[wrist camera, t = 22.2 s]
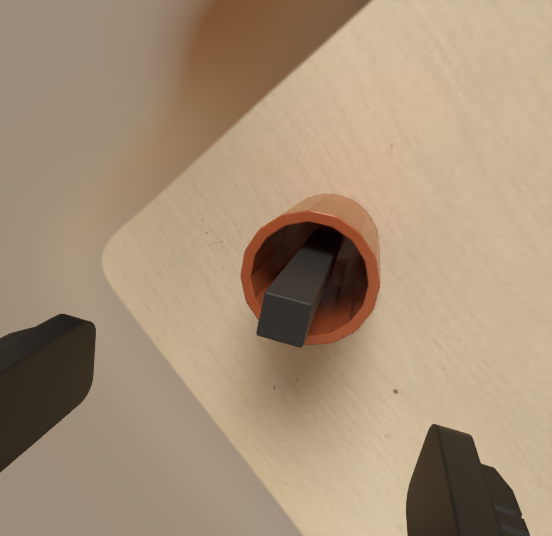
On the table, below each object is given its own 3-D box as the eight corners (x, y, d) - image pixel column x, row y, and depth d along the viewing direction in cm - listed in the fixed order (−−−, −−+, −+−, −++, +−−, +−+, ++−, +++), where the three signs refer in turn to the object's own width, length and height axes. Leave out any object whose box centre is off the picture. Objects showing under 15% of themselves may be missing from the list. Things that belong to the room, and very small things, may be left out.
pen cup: (289, 184, 26) (253, 197, 19) (390, 206, 25) (396, 229, 18) (270, 278, 28) (231, 324, 21) (364, 302, 27) (359, 360, 20)
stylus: (318, 225, 26) (264, 291, 14) (344, 231, 26) (312, 304, 13) (312, 250, 26) (255, 335, 14) (337, 256, 26) (302, 349, 14)
